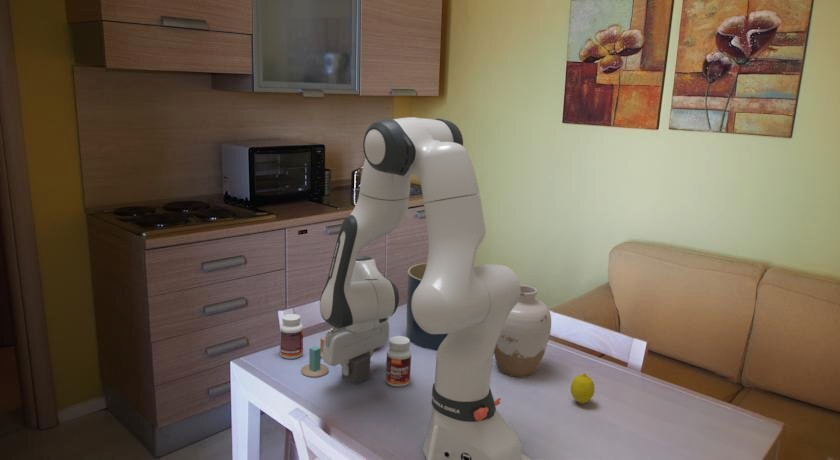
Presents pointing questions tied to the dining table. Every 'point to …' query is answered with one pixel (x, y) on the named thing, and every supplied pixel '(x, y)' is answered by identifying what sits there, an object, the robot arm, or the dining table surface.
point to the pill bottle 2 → (398, 361)
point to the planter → (412, 327)
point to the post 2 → (322, 345)
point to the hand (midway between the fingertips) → (356, 370)
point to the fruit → (582, 388)
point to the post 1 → (314, 364)
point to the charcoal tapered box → (358, 369)
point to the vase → (524, 335)
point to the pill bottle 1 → (291, 337)
